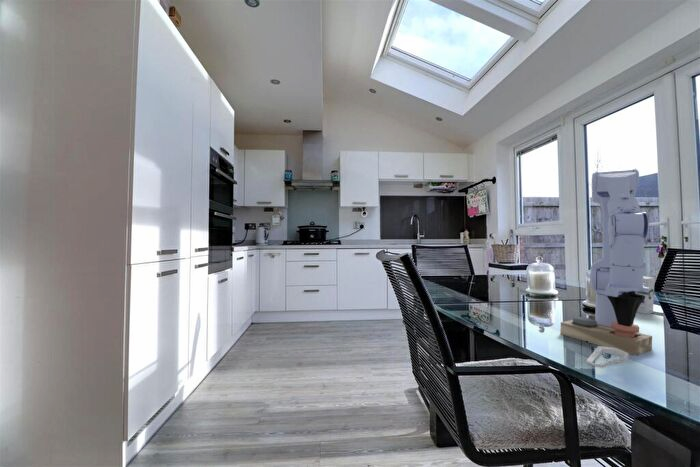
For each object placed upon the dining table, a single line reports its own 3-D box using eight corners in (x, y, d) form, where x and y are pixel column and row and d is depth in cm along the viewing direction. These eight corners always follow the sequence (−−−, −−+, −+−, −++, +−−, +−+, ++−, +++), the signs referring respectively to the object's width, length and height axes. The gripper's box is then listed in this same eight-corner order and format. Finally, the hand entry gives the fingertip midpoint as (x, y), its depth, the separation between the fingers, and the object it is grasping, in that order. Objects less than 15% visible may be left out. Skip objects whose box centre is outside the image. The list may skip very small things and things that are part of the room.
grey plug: (578, 330, 81) (578, 316, 81) (600, 335, 77) (600, 320, 76) (568, 332, 78) (568, 318, 78) (590, 338, 74) (590, 323, 74)
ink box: (614, 308, 107) (615, 274, 107) (622, 306, 110) (622, 273, 109) (647, 314, 100) (648, 278, 99) (654, 312, 102) (655, 277, 102)
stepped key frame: (618, 378, 57) (618, 369, 57) (585, 369, 61) (585, 360, 61) (630, 356, 66) (630, 349, 66) (601, 349, 70) (601, 342, 70)
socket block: (576, 329, 82) (577, 318, 82) (651, 349, 69) (652, 336, 69) (560, 334, 79) (560, 322, 79) (636, 355, 65) (636, 341, 65)
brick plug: (616, 336, 74) (616, 320, 74) (642, 342, 69) (643, 326, 69) (606, 339, 71) (606, 323, 71) (633, 346, 67) (633, 329, 67)
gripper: (635, 269, 63) (633, 335, 63) (663, 266, 70) (661, 325, 70) (594, 265, 69) (593, 325, 70) (624, 263, 76) (622, 317, 77)
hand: (624, 325), depth 70 cm, fingers closed, pressing on brick plug
